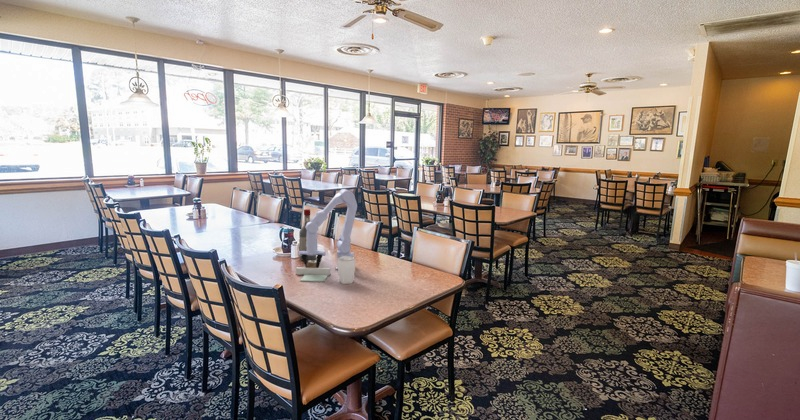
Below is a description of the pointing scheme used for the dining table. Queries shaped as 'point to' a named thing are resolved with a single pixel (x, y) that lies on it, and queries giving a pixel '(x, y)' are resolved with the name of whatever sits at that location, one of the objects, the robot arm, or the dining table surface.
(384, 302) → the dining table surface
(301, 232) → the liquor
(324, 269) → the grey screen
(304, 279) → the sage mat
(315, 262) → the walnut cube
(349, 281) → the cup
